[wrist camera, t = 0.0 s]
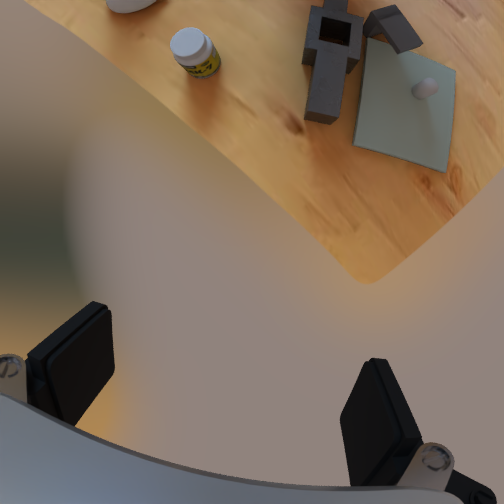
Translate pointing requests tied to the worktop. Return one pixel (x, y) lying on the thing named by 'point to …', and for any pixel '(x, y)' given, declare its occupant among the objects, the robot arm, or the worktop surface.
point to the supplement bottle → (195, 53)
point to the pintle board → (403, 95)
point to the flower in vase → (128, 5)
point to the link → (330, 57)
